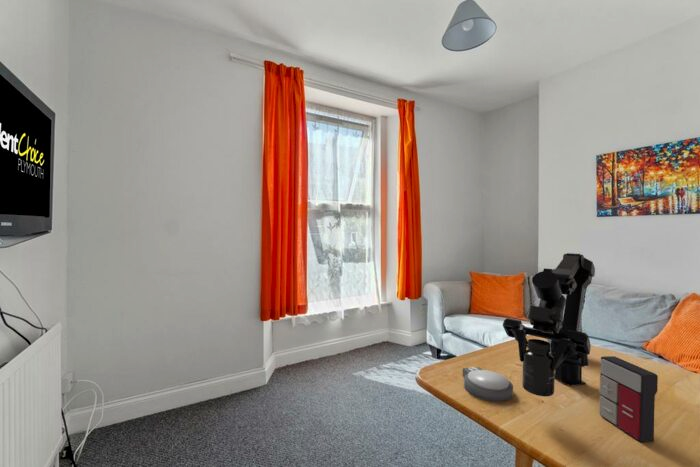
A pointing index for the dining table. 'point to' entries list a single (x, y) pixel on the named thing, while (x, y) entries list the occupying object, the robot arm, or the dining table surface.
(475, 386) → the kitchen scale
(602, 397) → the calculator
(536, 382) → the supplement bottle
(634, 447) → the dining table surface
